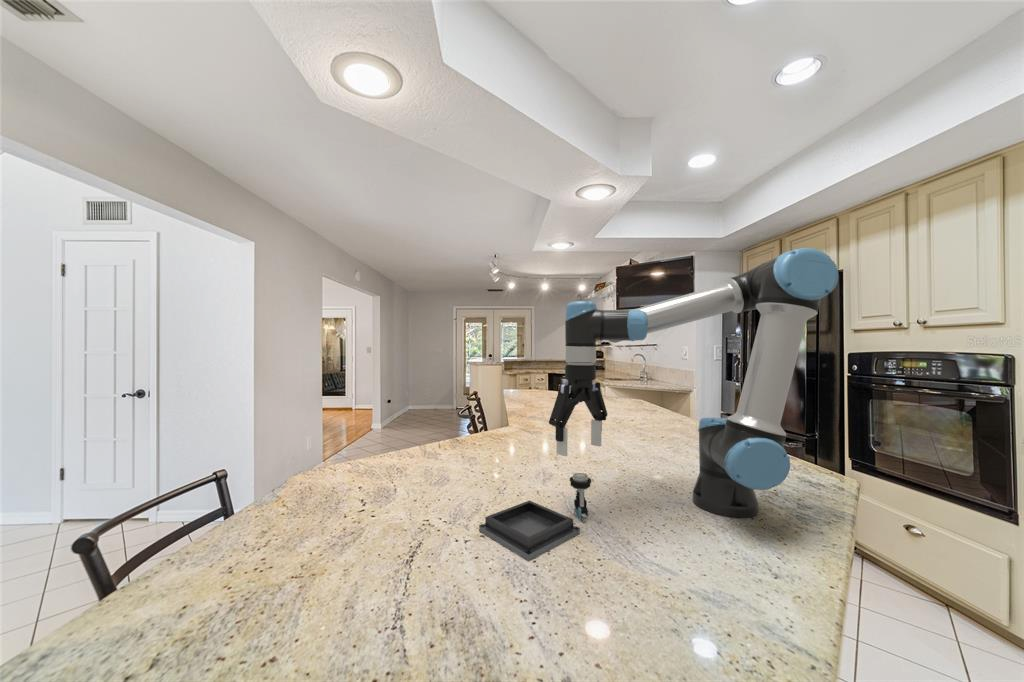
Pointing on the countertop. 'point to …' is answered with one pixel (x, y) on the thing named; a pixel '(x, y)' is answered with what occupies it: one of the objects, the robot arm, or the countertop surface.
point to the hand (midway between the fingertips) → (579, 450)
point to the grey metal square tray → (529, 529)
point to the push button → (580, 494)
